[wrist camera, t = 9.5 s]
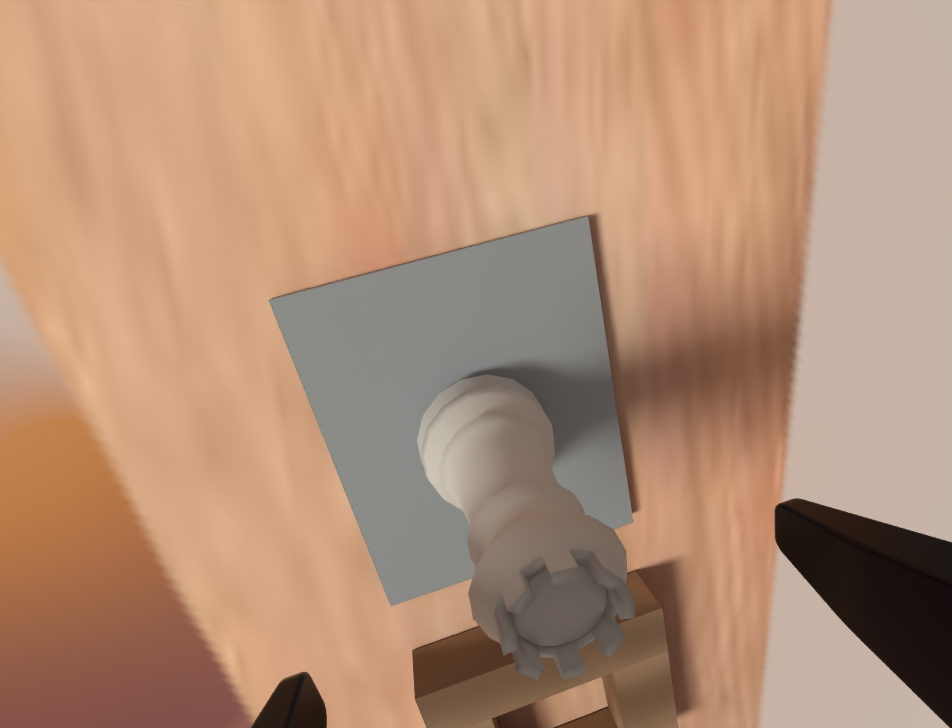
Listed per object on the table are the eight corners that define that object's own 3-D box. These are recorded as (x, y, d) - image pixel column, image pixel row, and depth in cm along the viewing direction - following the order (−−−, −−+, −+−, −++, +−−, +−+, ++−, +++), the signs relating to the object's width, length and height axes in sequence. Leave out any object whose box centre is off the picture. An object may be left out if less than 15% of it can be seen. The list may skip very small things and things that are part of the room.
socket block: (658, 721, 22) (683, 767, 20) (470, 797, 21) (478, 851, 19) (635, 570, 19) (662, 607, 17) (412, 650, 18) (415, 699, 16)
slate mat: (627, 514, 18) (633, 522, 18) (390, 595, 17) (390, 606, 17) (581, 216, 14) (588, 216, 14) (272, 297, 13) (268, 300, 13)
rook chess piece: (486, 342, 14) (592, 464, 7) (567, 428, 16) (726, 606, 8) (387, 434, 15) (386, 649, 7) (476, 510, 16) (552, 754, 9)
